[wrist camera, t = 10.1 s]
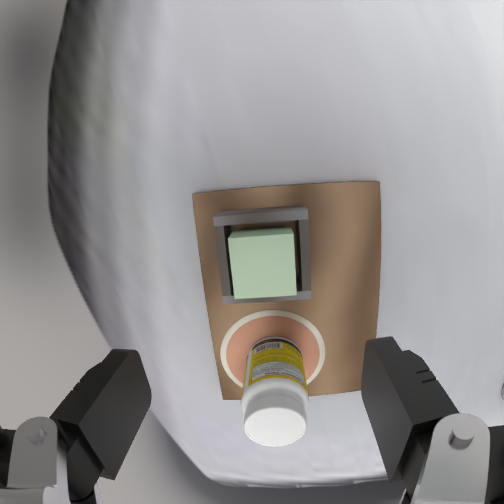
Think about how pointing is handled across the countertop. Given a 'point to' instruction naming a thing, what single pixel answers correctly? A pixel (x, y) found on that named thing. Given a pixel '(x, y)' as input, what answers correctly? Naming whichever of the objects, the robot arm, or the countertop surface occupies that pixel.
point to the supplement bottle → (274, 393)
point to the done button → (263, 262)
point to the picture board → (297, 278)
